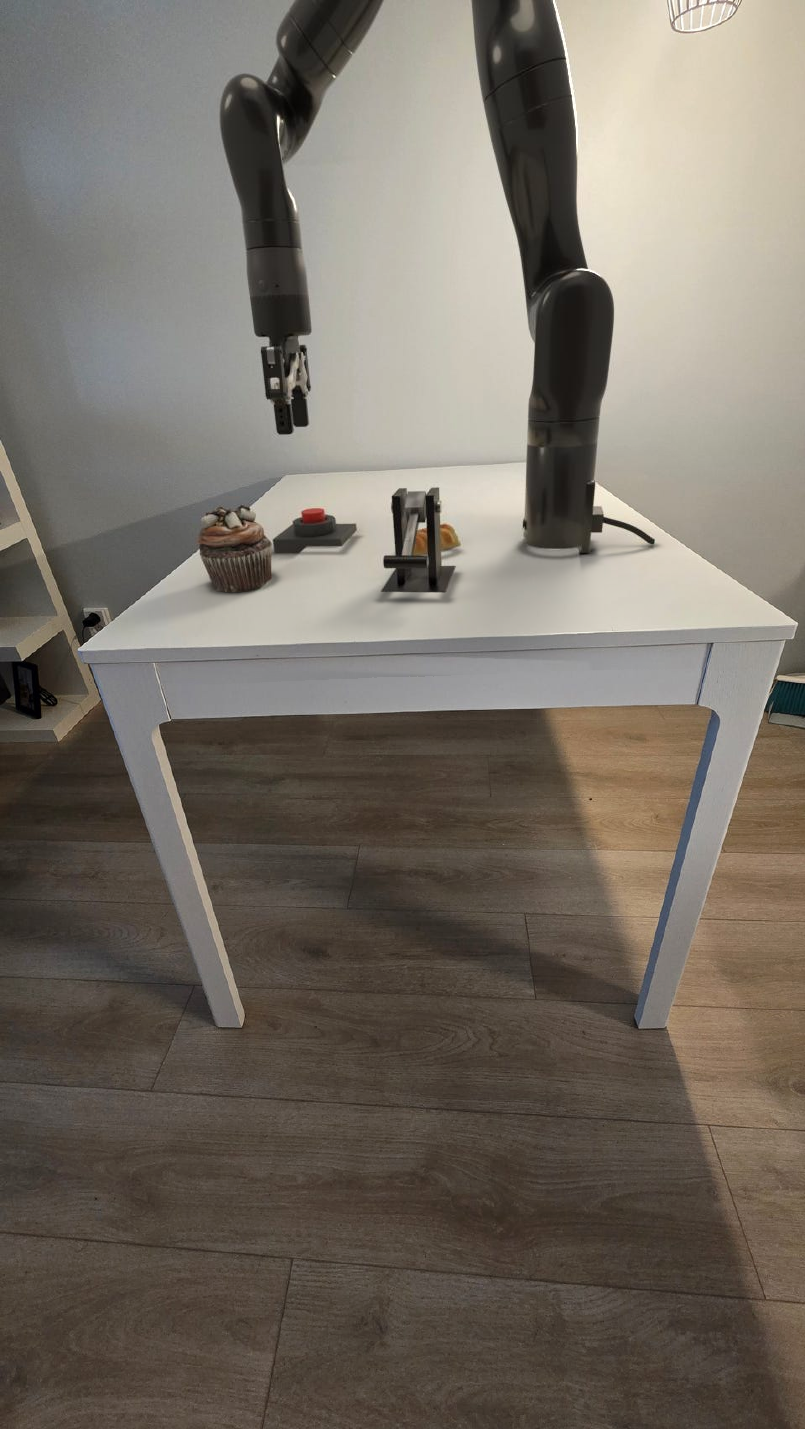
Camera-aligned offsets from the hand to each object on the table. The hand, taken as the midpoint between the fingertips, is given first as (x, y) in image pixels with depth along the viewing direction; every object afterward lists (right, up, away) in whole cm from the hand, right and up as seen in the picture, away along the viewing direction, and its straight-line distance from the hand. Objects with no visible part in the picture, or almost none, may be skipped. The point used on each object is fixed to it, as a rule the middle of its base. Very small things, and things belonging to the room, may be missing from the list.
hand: (293, 430), depth 91 cm
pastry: (+19, -17, +4) cm, 26 cm away
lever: (+17, -19, -15) cm, 30 cm away
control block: (+2, -13, +11) cm, 18 cm away
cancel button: (+2, -10, +10) cm, 14 cm away
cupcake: (-7, -22, -3) cm, 23 cm away
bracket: (+18, -24, -9) cm, 31 cm away
